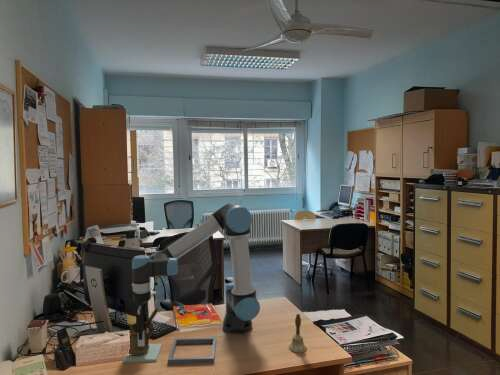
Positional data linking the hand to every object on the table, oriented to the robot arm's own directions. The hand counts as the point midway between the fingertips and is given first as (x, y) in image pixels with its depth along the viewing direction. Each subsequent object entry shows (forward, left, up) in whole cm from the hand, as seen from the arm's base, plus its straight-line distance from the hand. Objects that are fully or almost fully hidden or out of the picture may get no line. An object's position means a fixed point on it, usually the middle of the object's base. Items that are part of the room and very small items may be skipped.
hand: (143, 341), depth 173 cm
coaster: (0, 0, -5) cm, 5 cm away
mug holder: (-22, 0, -5) cm, 23 cm away
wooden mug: (0, 0, -4) cm, 4 cm away
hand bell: (-69, -1, -6) cm, 69 cm away
